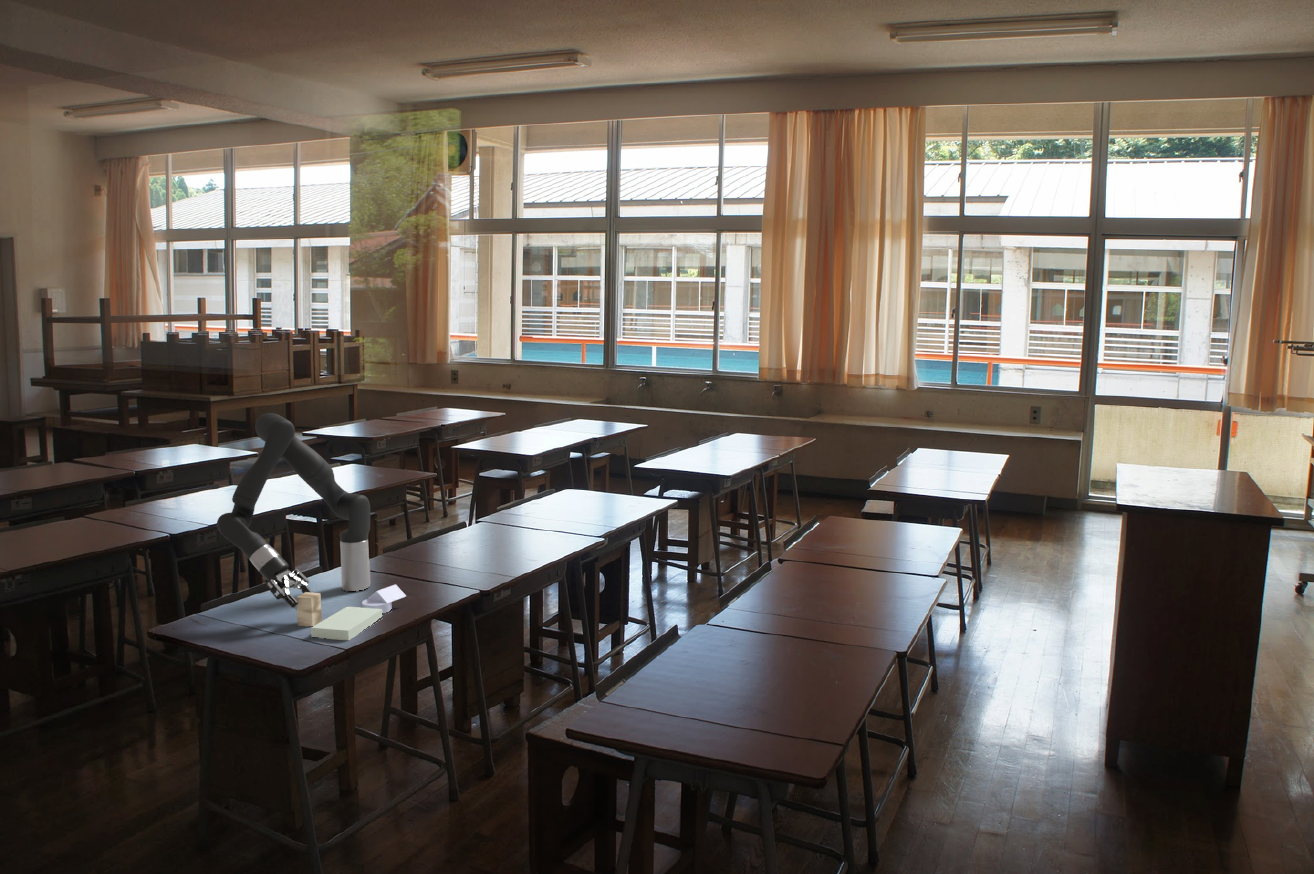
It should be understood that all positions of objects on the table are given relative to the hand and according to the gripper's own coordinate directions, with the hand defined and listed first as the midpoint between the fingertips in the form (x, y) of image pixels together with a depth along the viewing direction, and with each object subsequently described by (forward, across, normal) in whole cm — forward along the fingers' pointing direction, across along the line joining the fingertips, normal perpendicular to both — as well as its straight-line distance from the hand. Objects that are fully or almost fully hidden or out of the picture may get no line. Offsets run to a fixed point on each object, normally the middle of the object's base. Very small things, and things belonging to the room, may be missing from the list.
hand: (304, 601), depth 278 cm
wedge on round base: (+17, +17, -7) cm, 25 cm away
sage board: (+15, -1, -6) cm, 17 cm away
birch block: (+6, 0, +4) cm, 7 cm away
